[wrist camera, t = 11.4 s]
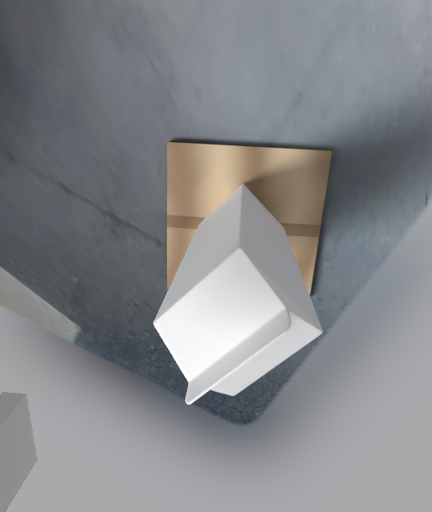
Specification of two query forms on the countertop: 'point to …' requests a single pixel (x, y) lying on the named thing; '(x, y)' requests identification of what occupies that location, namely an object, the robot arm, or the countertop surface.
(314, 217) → the flat cardboard box
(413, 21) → the countertop surface
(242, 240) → the milk
